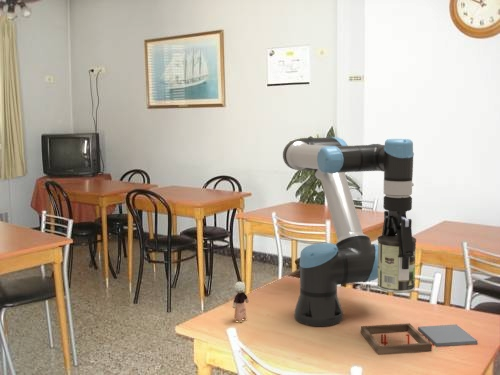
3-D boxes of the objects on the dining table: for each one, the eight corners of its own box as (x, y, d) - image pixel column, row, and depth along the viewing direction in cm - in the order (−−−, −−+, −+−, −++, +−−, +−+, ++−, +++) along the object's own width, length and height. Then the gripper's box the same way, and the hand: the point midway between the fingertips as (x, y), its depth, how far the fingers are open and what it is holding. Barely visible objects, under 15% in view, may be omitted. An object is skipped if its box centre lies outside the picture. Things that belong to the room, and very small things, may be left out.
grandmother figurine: (239, 316, 175) (239, 278, 173) (250, 317, 173) (250, 279, 172) (229, 324, 168) (228, 285, 166) (240, 326, 166) (239, 286, 165)
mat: (418, 329, 161) (418, 326, 161) (456, 327, 163) (456, 324, 163) (436, 346, 150) (436, 343, 149) (477, 344, 151) (477, 340, 151)
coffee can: (413, 282, 155) (414, 234, 154) (416, 294, 145) (418, 243, 144) (376, 280, 157) (377, 233, 156) (377, 292, 147) (378, 241, 146)
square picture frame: (360, 332, 160) (360, 326, 160) (409, 329, 162) (409, 323, 161) (378, 354, 145) (378, 347, 145) (431, 351, 147) (431, 344, 147)
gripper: (428, 201, 137) (426, 286, 140) (395, 189, 159) (393, 262, 162) (400, 202, 136) (398, 287, 139) (370, 190, 159) (369, 263, 162)
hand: (396, 274), depth 151 cm, fingers closed on coffee can, 10 cm apart
